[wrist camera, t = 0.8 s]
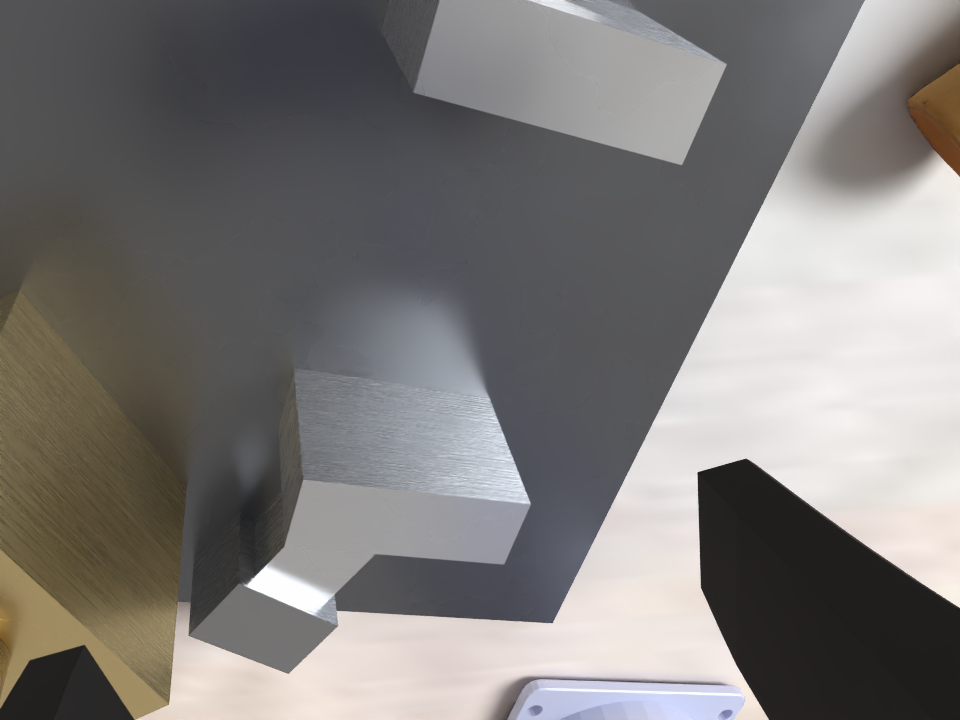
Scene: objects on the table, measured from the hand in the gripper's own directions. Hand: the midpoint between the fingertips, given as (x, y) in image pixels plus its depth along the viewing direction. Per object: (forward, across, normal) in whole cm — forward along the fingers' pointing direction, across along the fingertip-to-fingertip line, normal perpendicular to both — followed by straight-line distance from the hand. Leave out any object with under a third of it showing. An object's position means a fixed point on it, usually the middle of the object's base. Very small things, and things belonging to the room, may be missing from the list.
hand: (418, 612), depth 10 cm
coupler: (+9, +7, +2) cm, 11 cm away
